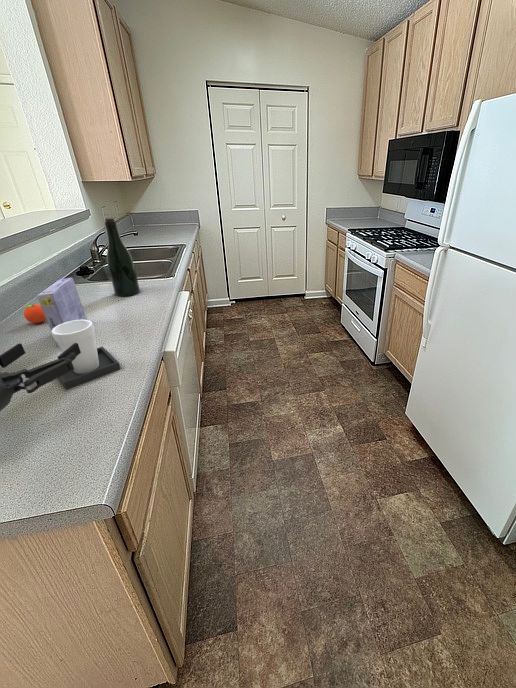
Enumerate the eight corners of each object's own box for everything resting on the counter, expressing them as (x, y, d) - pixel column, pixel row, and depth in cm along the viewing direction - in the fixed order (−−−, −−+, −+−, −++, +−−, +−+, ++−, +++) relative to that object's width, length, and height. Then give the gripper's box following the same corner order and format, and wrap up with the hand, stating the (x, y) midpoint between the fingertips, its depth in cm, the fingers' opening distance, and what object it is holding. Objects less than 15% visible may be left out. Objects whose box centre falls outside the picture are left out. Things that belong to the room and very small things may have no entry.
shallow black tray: (53, 369, 95) (51, 363, 94) (104, 352, 104) (102, 346, 103) (66, 389, 87) (63, 382, 86) (120, 368, 95) (118, 362, 95)
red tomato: (21, 328, 120) (14, 310, 117) (27, 320, 126) (20, 303, 123) (47, 324, 123) (40, 306, 120) (52, 317, 128) (46, 300, 125)
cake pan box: (75, 322, 124) (59, 277, 116) (90, 321, 125) (75, 275, 117) (55, 346, 107) (35, 295, 99) (72, 344, 108) (54, 294, 101)
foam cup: (109, 357, 100) (97, 318, 94) (98, 374, 92) (84, 332, 86) (75, 360, 98) (61, 321, 93) (61, 378, 90) (44, 336, 85)
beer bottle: (144, 292, 153) (127, 217, 138) (121, 298, 146) (101, 220, 131) (134, 287, 159) (116, 215, 144) (111, 293, 152) (90, 218, 137)
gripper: (-82, 420, 64) (4, 361, 83) (48, 419, 64) (105, 360, 83) (-103, 389, 60) (-8, 335, 79) (34, 387, 61) (96, 334, 80)
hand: (50, 347), depth 81 cm, fingers open, 13 cm apart
